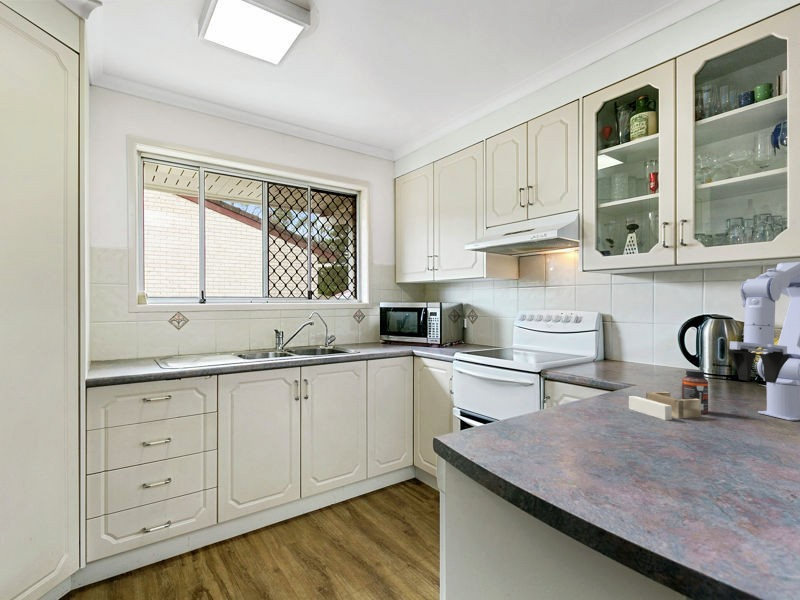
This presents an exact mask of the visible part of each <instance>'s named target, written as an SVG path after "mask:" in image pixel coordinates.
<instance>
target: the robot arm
mask: <svg viewBox="0 0 800 600" xmlns="http://www.w3.org/2000/svg"><path fill="white" fill-rule="evenodd" d="M781 295H784V296H787V297H789V298H790V300H789V304H788V308H787V310H786V314H785V318H784V320H783V321H784V322H783V325H782V327H781V332H780V335H779V339H778V342H777V344H775V330H776V329H775V328H776V327H775V324H776V322H775V321H776V302H777V301H779V300H780V298H781ZM740 297H741V298H742V299H741V300H742V301H741V302H742V304H741V305H742V307H743V308H744V318H743V319H744V320H743V322H744V323H743V325H744V327H743V341H734V340H733V341H730V340H729V349H728V350H727V351H728V355H729V356H730V359H732V361H733V364H734V365H735V369H736V372H737V376H738V379H739V380H742V381H751V376H752V367H753V363H754V360H755V359H756V356H757V352H760V353H759V356H760V357H759V359H758V361H757V374H759V376H760V378H762V379H763V381H764V382H766V410H758V412H757V413H758V414H762V415H766V416H769V417H775V418H779V419H783V420H787V421H793V422H794V421H800V261H794V262H793V261H792V262H784V261H782V262H779V263H777V265H776V268H775V267H774V268H768V269H766V272H764V273H762V274H761V273H760V274H759V276H757V277H756V278H747V279H746V280H745V281H743V282H742V283H741V286H740ZM756 348H759V349H756ZM760 348H761V349H760ZM761 352H762V353H761Z"/></svg>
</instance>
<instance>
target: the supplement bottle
mask: <svg viewBox="0 0 800 600" xmlns="http://www.w3.org/2000/svg"><path fill="white" fill-rule="evenodd" d="M685 375H686V376H684V377H683V378H682V379H681V399H700V400H701V415H702V414H707V413H709V406H710V405H709V381H708V379H706V378H705V372H704V370H700V369H686V371H685Z"/></svg>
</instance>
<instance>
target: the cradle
mask: <svg viewBox="0 0 800 600" xmlns="http://www.w3.org/2000/svg"><path fill="white" fill-rule="evenodd" d="M645 399H648V400H652V401H655V402H659V403H663V404H667V405H670V406H672V418H676V419H689V418H690V419H693V418H701V417H702V414H701V400H700V399H682V398H681V399H679V398H675V397H671V392H668V391H655V392H645Z"/></svg>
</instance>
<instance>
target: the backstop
mask: <svg viewBox="0 0 800 600" xmlns="http://www.w3.org/2000/svg"><path fill="white" fill-rule="evenodd" d="M628 409H629V410H632V411H635V412H639V413H641V414H644V415H647V416H651V417H654V418H658V419H660V420H663V421H672V420H673V419H672V418H673V416H672V406H670V405H667V404H663V403H659V402H655V401H652V400H648V399H646V398H644V397H640V396H636V395H629V396H628Z"/></svg>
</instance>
